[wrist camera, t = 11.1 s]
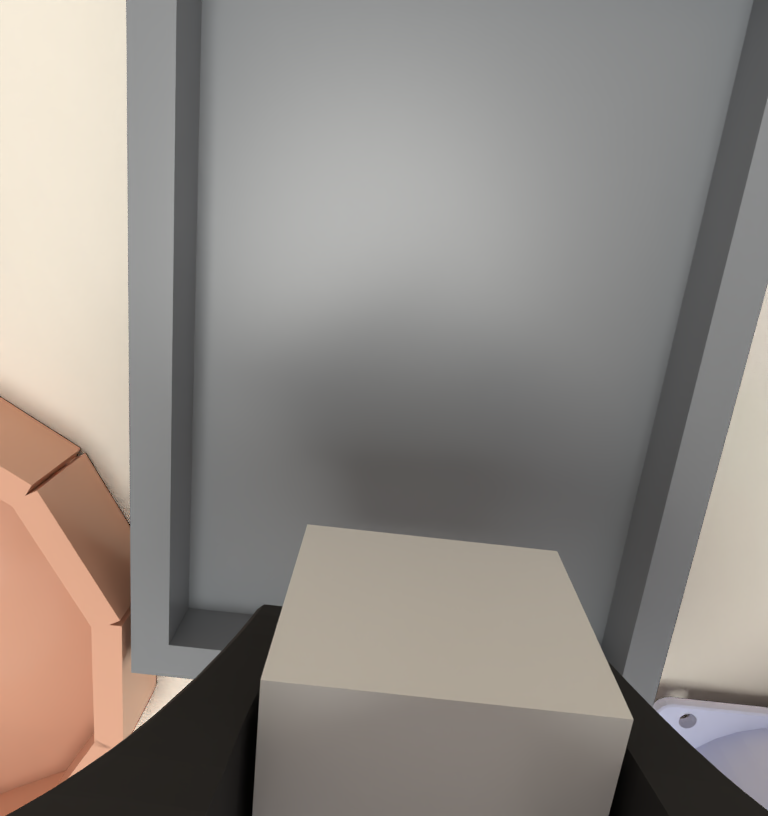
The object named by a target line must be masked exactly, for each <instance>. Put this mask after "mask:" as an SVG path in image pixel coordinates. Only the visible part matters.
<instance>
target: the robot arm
mask: <svg viewBox="0 0 768 816" xmlns="http://www.w3.org/2000/svg"><path fill="white" fill-rule="evenodd" d="M282 607H283V606H276V605H266V604H264V605H262V606H261V607H260V608H258V609H257V610H256V612H255V613H254V614H253V615H252V617H251V618H250V619H249V620H248V622H247V623H246V624H245V625H244V626H243V628H242V629H241V630H240V631H239V632H238V633H237V634H236V636H235V637H234V638H233V639H232V640H231V641H230V642H229V643H228V644H227V646H226V647H225V648H224V649H223V650H222V651H221V652H220V653H219V654H218V655H217V656H216V657H215V658H214V659H213V660H212V661H211V662H210V663H209V664H208V665H207V666H206V668H205V669H204V670H203V671H202V672H201V673H200V674H199V675H198V676H197V677H196V678H195V679H194V680H193V681H191V682H190V683H189V684H188V685H187V686H186V687H185V688H184V689H183V690H182V691H181V692H179V693H178V694H177V695H176V696H175V697H174V698H173V699H172V700H171V701H170V702H168V703H167V704H166V705H165V706H164V707H163V708H162V709H161V710H160V711H158V712H157V713H156V714H155V715H154V716H152V717H151V718H150V719H149V720H148V721H147V722H145V723H144V724H143V725H142V726H140V727H139V728H138V729H137V730H135V731H134V732H133V733H132V734H130V735H129V736H128V737H126V738H125V739H124V740H122V741H121V742H120V743H118V744H117V745H116V746H115V747H113V748H112V749H110V750H109V751H108V752H106V753H105V754H103V755H102V756H101V757H99V758H98V759H96V760H95V761H93V762H92V763H90V764H89V765H88V766H86V767H85V768H83V769H82V770H80V771H79V772H77V773H76V774H74V775H72V776H71V777H69V778H68V779H66V780H65V781H63V782H62V783H60V784H59V785H57V786H56V787H54V788H53V789H51V790H49V791H48V792H46V793H44V794H43V795H41V796H39V797H37V798H36V799H34V800H32V801H30V802H29V803H27V804H25V805H24V806H22V807H20V808H18V809H17V810H15V811H13V812H11V813H9V814H7V815H6V816H252V810H253V794H254V777H255V761H256V745H257V728H258V712H259V696H260V680H261V676H262V673H263V670H264V666H265V663H266V660H267V657H268V653H269V650H270V647H271V643H272V640H273V637H274V633H275V630H276V627H277V623H278V620H279V617H280V613H281V610H282ZM607 662H608V661H607ZM608 664H609V666H610V669H611V671H612V673H613V675H614V677H615V680H616V682H617V684H618V686H619V688H620V691H621V693H622V695H623V697H624V699H625V702H626V704H627V706H628V708H629V710H630V713H631V715H632V717H633V719H634V720H633V724H632V728H631V731H630V735H629V739H628V743H627V747H626V751H625V754H624V758H623V762H622V766H621V770H620V774H619V777H618V781H617V785H616V789H615V793H614V797H613V800H612V804H611V808H610V812H609V816H768V707H759V706H749V705H740V704H730V703H721V702H711V701H702V700H692V699H683V698H673V697H666V698H661V699H659V700H657V701H656V702H655V703H654V704H653V707H652V706H651V705H650V704H649V703H648V702H647V701H646V700H645V699H644V698H643V697H642V696H641V695H640V694H639V693H638V692H637V691H636V690H635V689H634V688H633V687H632V686H631V685H630V684H629V683H628V682H627V681H626V679H625V678H624V677H623V676H622V675H621V674H620V673H619V672H618V671H617V670H616V669H615V668H614V667H613V666H612V665H611V664H610V663H609V662H608ZM685 714H690V715H689V716H688V717H686V718H681V719H680V717H681V716H683V715H685Z"/></svg>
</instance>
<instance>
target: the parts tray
mask: <svg viewBox="0 0 768 816" xmlns="http://www.w3.org/2000/svg"><path fill="white" fill-rule="evenodd" d="M126 19H127V158H128V296H129V435H130V573H131V673H139V674H148V675H158V676H168V677H177V678H187V679H195V678H196V677H197V676H198V675H199V674H200V673H201V672H202V671H203V670H204V669H205V668H206V666H207V665H208V664H209V663H210V662H211V661H212V660H213V659H214V658H215V657H216V656H217V655H218V654H219V653H220V652H221V651H222V650H223V649H224V648H225V647H226V646H227V644H228V643H229V642H230V641H231V640H232V639H233V638H234V637H235V636H236V634H237V633H238V632H239V631H240V630H241V629H242V628H243V626H244V625H245V624H246V623H247V622H248V620H249V619H250V618H251V617H252V615H253V614H254V613H255V612H256V610H257V609H258V608H260V607H261V606H262V605H264V604H266V605H276V606H283V604H284V600H285V597H286V594H287V590H288V587H289V584H290V580H291V577H292V574H293V570H294V567H295V564H296V560H297V557H298V554H299V551H300V547H301V544H302V541H303V537H304V534H305V531H306V527H307V524H309V525H318V526H328V527H337V528H346V529H355V530H365V531H374V532H383V533H393V534H402V535H411V536H421V537H430V538H439V539H448V540H458V541H467V542H476V543H486V544H495V545H504V546H514V547H523V548H532V549H541V550H551V551H557V552H558V554H559V556H560V559H561V561H562V563H563V565H564V567H565V570H566V572H567V574H568V576H569V578H570V581H571V583H572V585H573V587H574V589H575V592H576V594H577V596H578V598H579V600H580V603H581V605H582V607H583V609H584V611H585V614H586V616H587V618H588V620H589V622H590V625H591V627H592V629H593V631H594V633H595V636H596V638H597V640H598V642H599V644H600V647H601V649H602V651H603V653H604V655H605V658H606V660H607V661H608V662H609V663H610V664H611V665H612V666H613V667H614V668H615V669H616V670H617V671H618V672H619V673H620V674H621V675H622V676H623V677H624V678H625V679H626V681H627V682H628V683H629V684H630V685H631V686H632V687H633V688H634V689H635V690H636V691H637V692H638V693H639V694H640V695H641V696H642V697H643V698H644V699H645V700H646V701H647V702H648V703H649V704H650V705H651V706H652V707H653V704H654V701H655V697H656V693H657V690H658V686H659V682H660V679H661V675H662V671H663V668H664V664H665V660H666V657H667V653H668V649H669V645H670V642H671V638H672V634H673V631H674V627H675V623H676V620H677V616H678V612H679V609H680V605H681V601H682V598H683V594H684V590H685V586H686V583H687V579H688V575H689V572H690V568H691V564H692V561H693V557H694V553H695V550H696V546H697V542H698V539H699V535H700V531H701V527H702V524H703V520H704V516H705V513H706V509H707V505H708V502H709V498H710V494H711V491H712V487H713V483H714V480H715V476H716V472H717V468H718V465H719V461H720V457H721V454H722V450H723V446H724V443H725V439H726V435H727V432H728V428H729V424H730V421H731V417H732V413H733V409H734V406H735V402H736V398H737V395H738V391H739V387H740V384H741V380H742V376H743V373H744V369H745V365H746V362H747V358H748V354H749V350H750V347H751V343H752V339H753V336H754V332H755V328H756V325H757V321H758V317H759V314H760V310H761V306H762V303H763V299H764V295H765V291H766V288H767V284H768V0H126Z"/></svg>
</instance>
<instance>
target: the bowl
mask: <svg viewBox="0 0 768 816" xmlns="http://www.w3.org/2000/svg"><path fill="white" fill-rule="evenodd" d="M80 449H81V448H79V447H78V446H76V445H75V444H73V443H72V442H70V441H68V440H67V439H65V438H64V437H62V436H61V435H59V434H57V433H56V432H54V431H53V430H51V429H50V428H48V427H46V426H45V425H43V424H42V423H40V422H39V421H37V420H35V419H34V418H32V417H31V416H29V415H28V414H26V413H24V412H23V411H21V410H20V409H18V408H17V407H15V406H13V405H12V404H10V403H9V402H7V401H6V400H4V399H2V398H1V397H0V816H6V815H7V814H9V813H11V812H13V811H15V810H17V809H18V808H20V807H22V806H24V805H25V804H27V803H29V802H30V801H32V800H34V799H36V798H37V797H39V796H41V795H43V794H44V793H46V792H48V791H49V790H51V789H53V788H54V787H56V786H57V785H59V784H60V783H62V782H63V781H65V780H66V779H68V778H69V777H71V776H72V775H74V774H76V773H77V772H79V771H80V770H82V769H83V768H85V767H86V766H88V765H89V764H90V763H92V762H93V761H95V760H96V759H98V758H99V757H101V756H102V755H103V754H105V753H106V752H108V751H109V750H110V749H112V748H113V747H115V746H116V745H117V744H118V743H120V742H121V741H122V740H124V739H125V738H126V737H128V736H129V735H130V734H132V733H133V731H134V729H135V727H136V725H137V723H138V721H139V719H140V717H141V715H142V713H143V711H144V709H145V707H146V706H147V704H148V702H149V700H150V698H151V696H152V694H153V692H154V690H155V689H154V688H155V686H156V675H148V674H139V673H131V573H130V526H129V524H128V522H127V521H126V519H125V518H124V516H123V514H122V513H121V511H120V509H119V508H118V506H117V504H116V503H115V501H114V499H113V498H112V496H111V494H110V493H109V491H108V489H107V488H106V486H105V485H104V483H103V481H102V480H101V478H100V476H99V475H98V473H97V471H96V470H95V468H94V466H93V465H92V463H91V461H90V460H89V458H88V456H87V455H86V453H84V454H82V455H80V456H77V454H78V452H79V451H80Z"/></svg>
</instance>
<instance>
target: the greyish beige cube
mask: <svg viewBox="0 0 768 816" xmlns="http://www.w3.org/2000/svg"><path fill="white" fill-rule="evenodd" d="M633 720H634V719H633V717H632V715H631V713H630V710H629V708H628V706H627V704H626V702H625V699H624V697H623V695H622V693H621V691H620V688H619V686H618V684H617V682H616V680H615V677H614V675H613V673H612V671H611V669H610V666H609V664H608V662H607V660H606V658H605V655H604V653H603V651H602V649H601V647H600V644H599V642H598V640H597V638H596V636H595V633H594V631H593V629H592V627H591V625H590V622H589V620H588V618H587V616H586V614H585V611H584V609H583V607H582V605H581V603H580V600H579V598H578V596H577V594H576V592H575V589H574V587H573V585H572V583H571V581H570V578H569V576H568V574H567V572H566V570H565V567H564V565H563V563H562V561H561V559H560V556H559V554H558V552H557V551H551V550H541V549H532V548H523V547H514V546H504V545H495V544H486V543H476V542H467V541H458V540H448V539H439V538H430V537H421V536H411V535H402V534H393V533H383V532H374V531H365V530H355V529H346V528H337V527H328V526H318V525H309V524H307V527H306V531H305V534H304V537H303V541H302V544H301V547H300V551H299V554H298V557H297V560H296V564H295V567H294V570H293V574H292V577H291V580H290V584H289V587H288V590H287V594H286V597H285V600H284V604H283V607H282V610H281V613H280V617H279V620H278V623H277V627H276V630H275V633H274V637H273V640H272V643H271V647H270V650H269V653H268V657H267V660H266V663H265V666H264V670H263V673H262V676H261V680H260V696H259V712H258V728H257V745H256V761H255V777H254V794H253V810H252V816H609V812H610V808H611V804H612V800H613V797H614V793H615V789H616V785H617V781H618V777H619V774H620V770H621V766H622V762H623V758H624V754H625V751H626V747H627V743H628V739H629V735H630V731H631V728H632V724H633Z"/></svg>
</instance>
